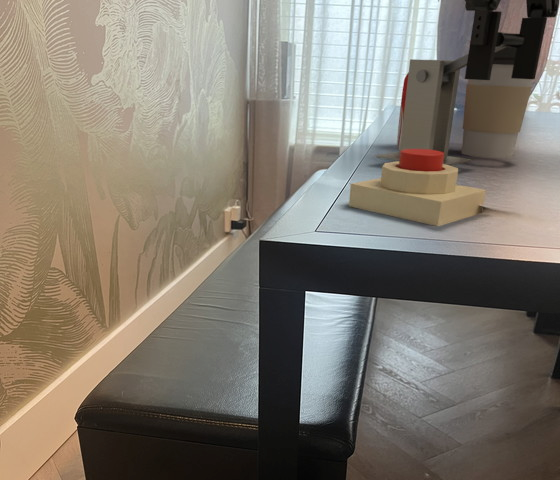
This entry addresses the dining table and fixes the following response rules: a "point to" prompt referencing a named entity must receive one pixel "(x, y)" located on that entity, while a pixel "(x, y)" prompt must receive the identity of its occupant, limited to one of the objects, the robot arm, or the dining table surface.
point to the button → (421, 160)
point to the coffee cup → (495, 109)
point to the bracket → (428, 110)
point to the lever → (502, 42)
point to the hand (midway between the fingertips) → (501, 79)
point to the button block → (418, 195)
